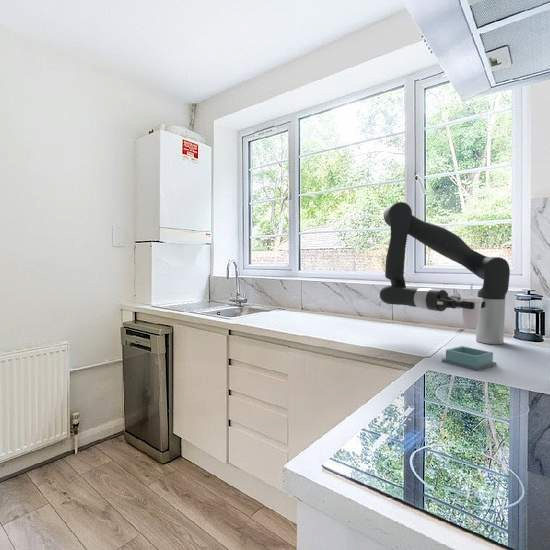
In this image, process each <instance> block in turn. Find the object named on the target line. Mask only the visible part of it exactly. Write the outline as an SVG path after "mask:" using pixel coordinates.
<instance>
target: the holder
mask: <svg viewBox="0 0 550 550" xmlns="http://www.w3.org/2000/svg"><path fill="white" fill-rule="evenodd" d="M493 359H494V352H492V351H488V350H487V351H486V350H483V349H478V348H474V347H468V346H463V345H461V346H457V347H453V348H447V349H445V357H444V358H441V362H442V361H443V362H442V363H445V362H446V363H445V364H449V363H450V365H453V364H454V365H453V366H458V367H461V368H463V369H468V370H469V369H470V370H472V371H476V372H480V371H482V370H486V369H489V368H492V367H495V366H497V361H494V360H493ZM479 370H480V371H479Z"/></svg>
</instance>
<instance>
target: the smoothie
mask: <svg viewBox="0 0 550 550" xmlns="http://www.w3.org/2000/svg"><path fill="white" fill-rule="evenodd" d="M473 285H474V284H473V283H470V289H469V293H470V295H469V296H460V297H461V301H466V302H474V303H475V307H474V309H466V308H461V310H462V321H463V328H465V329H471V330H474V329H475V330H476V329H477V325H478V320H479V315H480V309H481V304H482V302H483V298H479V297H478V296H473Z"/></svg>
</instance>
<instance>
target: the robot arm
mask: <svg viewBox="0 0 550 550" xmlns="http://www.w3.org/2000/svg"><path fill="white" fill-rule="evenodd" d="M383 220H384V222H385V223H386V225H388V227H390V236H389V237H390V239H389V244H388V248H387V252H386V258H385V268H384V269H385V271H384V277H385V278H386V279H387V280H389V281H390V284H391V285H386V286H384V287H382V288H381V290H380V292H379V298H380V300H381V301H382V302H383V303H385V304H387V305H397V306H400V305H401V306H408V307H413V308H419V309H422V310H423V309H424V310H430V311H435V312H444V311H446V310H447V309H453V310H454V309H458V310H460V309H462V308H466V309H474V307H475V303H474V302H466V301H461V297H462V296H457V295H449V294H448V292H447V291H446V290H445V289H437V288H436V289H435V288H421V287H420V288H417V287H407V285H406V280H405V275H404V274H405V257H406V256H405V255H406V247H407V246H406V245H407V240H408V235H409V236H410V237H412V238H414V239H415V240H417V241H418V242H420V243H421V244H422V245H425V246H426V247H428V248H429V249H430V250H432V251H434V252H436V253H438V254H439V255H442V256H443V257H445V258H447V259H449V260H451V261H453V262H455V263H457V264H459V265H461V266H462V267H464V268H466V270H468V271H470V272H471V273H473V274H474V275H475V276H476V277H478V278H479V279H481V280H483V284H482V287H481V288H480V289H479V290H478V291H477V297H479V298H483V302H482V304H481V309H480V315H479V320H478V325H477V329H475V330H476V333H475V341H476V342H479V343H481V344H488V345H503V344H504V340H505V339H504V338H505V336H504V335H505V320H506V319H505V315H506V296H507V293H508V291H509V285H510V273H511V271H510V270H511V269H510V265H509V263H508V261H507V260H506V259H505V258H503V257H500V256H499V257H498V256H495V257H494V256H487V255H484V254H482V253H479V252H477V251H475V250H474V249H472V248H471V247H469V245H468V244H467V243H466V242H465V241H464V240H463V239H462V238H461V237H460V236H458V235H457V234H455V233H453V232H452V231H450V230H448V228H444V227H443V226H439V225H437V224H434V223H431V222H428V221H424V220H422V219H419V218H418V217H416V216H414V214H413V210H412V208H411V206H410V205H409V204H408V203H407V202H404V201H398V202H395V203H393V204H391V205H389V206H387V207H386V209H385V210H384V212H383Z"/></svg>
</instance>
